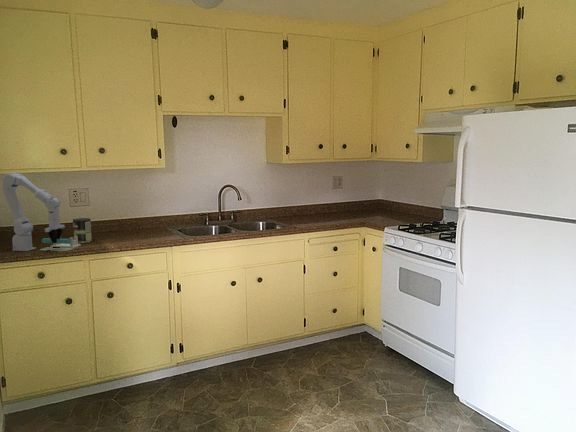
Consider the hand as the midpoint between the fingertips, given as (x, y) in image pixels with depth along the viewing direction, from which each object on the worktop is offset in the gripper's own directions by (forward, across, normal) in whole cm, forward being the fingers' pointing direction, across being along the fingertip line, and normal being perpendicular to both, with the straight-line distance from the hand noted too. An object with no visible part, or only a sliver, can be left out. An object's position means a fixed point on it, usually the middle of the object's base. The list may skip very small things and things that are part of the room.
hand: (56, 242), depth 261 cm
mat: (+4, 0, 0) cm, 4 cm away
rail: (-1, 0, 0) cm, 1 cm away
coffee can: (+4, +25, 0) cm, 25 cm away
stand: (+4, +8, 0) cm, 9 cm away
